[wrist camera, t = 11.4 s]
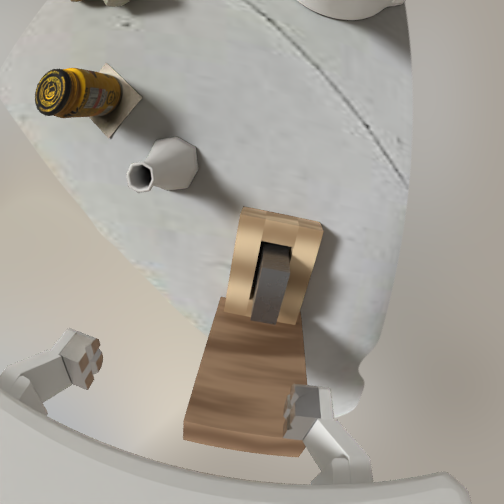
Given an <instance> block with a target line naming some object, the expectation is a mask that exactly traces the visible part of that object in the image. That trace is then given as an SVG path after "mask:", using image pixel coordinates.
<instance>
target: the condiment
mask: <svg viewBox="0 0 504 504" xmlns="http://www.w3.org/2000/svg"><path fill="white" fill-rule="evenodd" d="M141 99H142V97H141V96H140V95H139V94H138V93H137V92H136V91H135V90H134V89H133V88H132V87H131V86H130V85H129V84H128V83H127V82H126V81H125V80H124V79H123V78H122V77H121V76H120V75H119V74H118V73H117V72H116V71H115V70H113V69H112V68H111V67H110V66H109V65H108V64H107V63H106V64H105V65H104V66H103V67H102V69H101V70H100V71H99V72H94V71H88V70H84V69H79V68H68V69H53V70H50V71H49V72H47V73H46V74H45V75H44V76H43V77H42V79H41V80H40V82H39V83H38V85H37V89H36V92H35V103H36V106H37V109H38V110H39V111H40V112H41V113H42V114H44V115H45V116H46V115H48V116H50V115H51V116H52V115H54V116H57V117H60V118H71V117H90V118H91V120H92V121H93V122H94V123H95V124H96V125H97V126H98V127H99V128H100V129H101V130H102V132H103V133H104V134H105V135H106V136H107V137H108V138H109V137H110V136H111V135H112V134H113V133H114V131H115V130H116V129H117V128H118V126H119V125H120V124H121V123H122V122H123V120H124V119H125V118H126V117H127V116H128V115H129V113H130V112H131V110H132V109H133V108H134V107H135V106H136V105H137V103H138V102H139V101H140V100H141Z"/></svg>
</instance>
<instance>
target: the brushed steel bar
mask: <svg viewBox="0 0 504 504" xmlns="http://www.w3.org/2000/svg"><path fill="white" fill-rule="evenodd" d="M289 276H290V263H289V251H288V246H285V245H280V244H275V243H270V242H265V241H264V246H263V250H262V255H261V260H260V264H259V269H258V274H257V278H256V283H255V290H254V298H253V305H252V312H251V319H250V320H251V321H257V322H262V323H267V324H273V325H276V322H277V319H278V315H279V312H280V308H281V305H282V301H283V298H284V294H285V290H286V287H287V283H288V279H289Z"/></svg>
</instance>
